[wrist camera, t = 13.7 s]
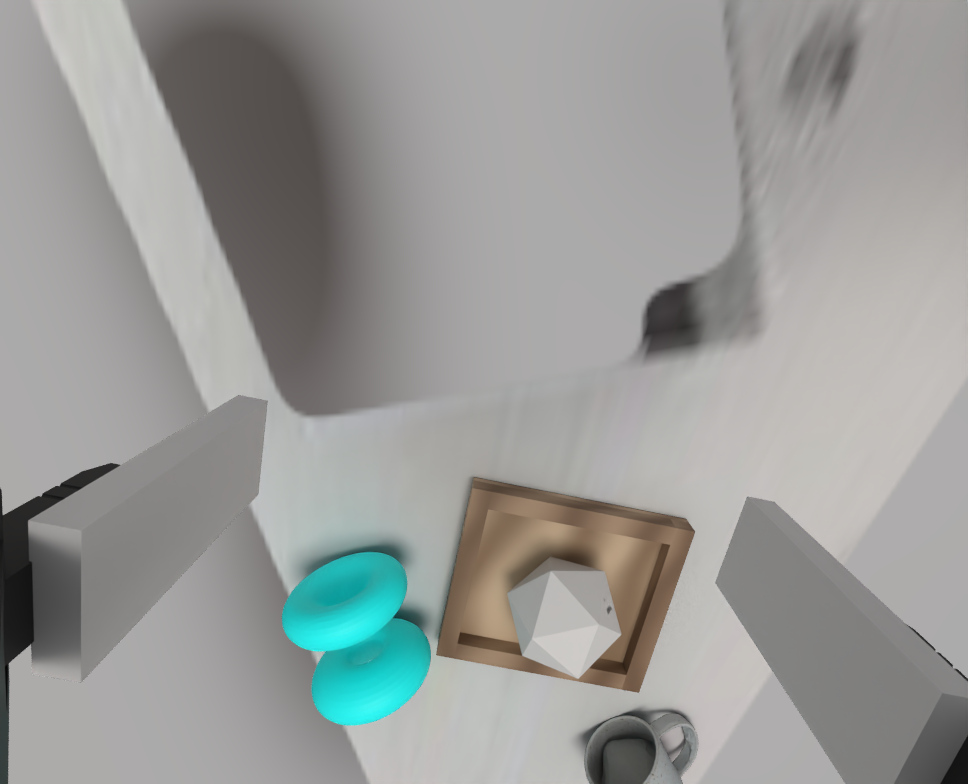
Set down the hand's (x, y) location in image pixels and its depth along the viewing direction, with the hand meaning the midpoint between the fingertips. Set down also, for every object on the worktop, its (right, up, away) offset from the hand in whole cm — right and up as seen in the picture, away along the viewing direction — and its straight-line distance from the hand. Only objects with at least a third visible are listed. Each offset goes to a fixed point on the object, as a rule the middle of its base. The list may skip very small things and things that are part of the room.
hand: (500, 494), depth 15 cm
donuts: (-11, -16, +35) cm, 39 cm away
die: (+6, -14, +33) cm, 37 cm away
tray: (+6, -14, +34) cm, 37 cm away
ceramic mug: (+15, -31, +38) cm, 52 cm away
